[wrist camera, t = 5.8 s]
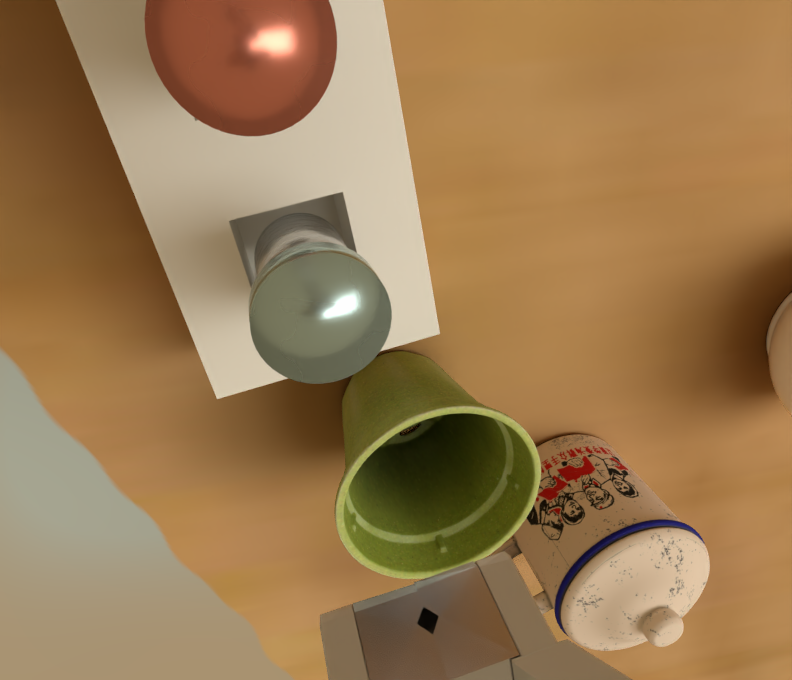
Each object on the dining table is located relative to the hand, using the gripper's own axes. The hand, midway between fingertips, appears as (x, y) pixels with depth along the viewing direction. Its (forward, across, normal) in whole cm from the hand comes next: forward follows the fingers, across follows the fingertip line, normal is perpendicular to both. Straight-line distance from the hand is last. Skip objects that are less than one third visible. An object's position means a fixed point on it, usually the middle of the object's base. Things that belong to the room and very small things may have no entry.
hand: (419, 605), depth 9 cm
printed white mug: (+22, -11, +22) cm, 33 cm away
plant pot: (+22, -3, +11) cm, 25 cm away
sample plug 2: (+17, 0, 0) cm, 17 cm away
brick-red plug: (+16, 0, -8) cm, 18 cm away
